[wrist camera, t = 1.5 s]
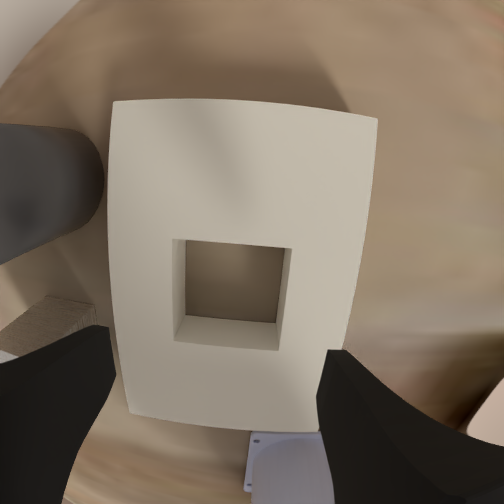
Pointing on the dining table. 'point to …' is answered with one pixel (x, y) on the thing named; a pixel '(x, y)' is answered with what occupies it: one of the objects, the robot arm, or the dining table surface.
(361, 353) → the dining table surface
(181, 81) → the dining table surface
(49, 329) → the square peg
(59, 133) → the round peg
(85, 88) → the dining table surface
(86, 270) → the dining table surface
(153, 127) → the bore plate
